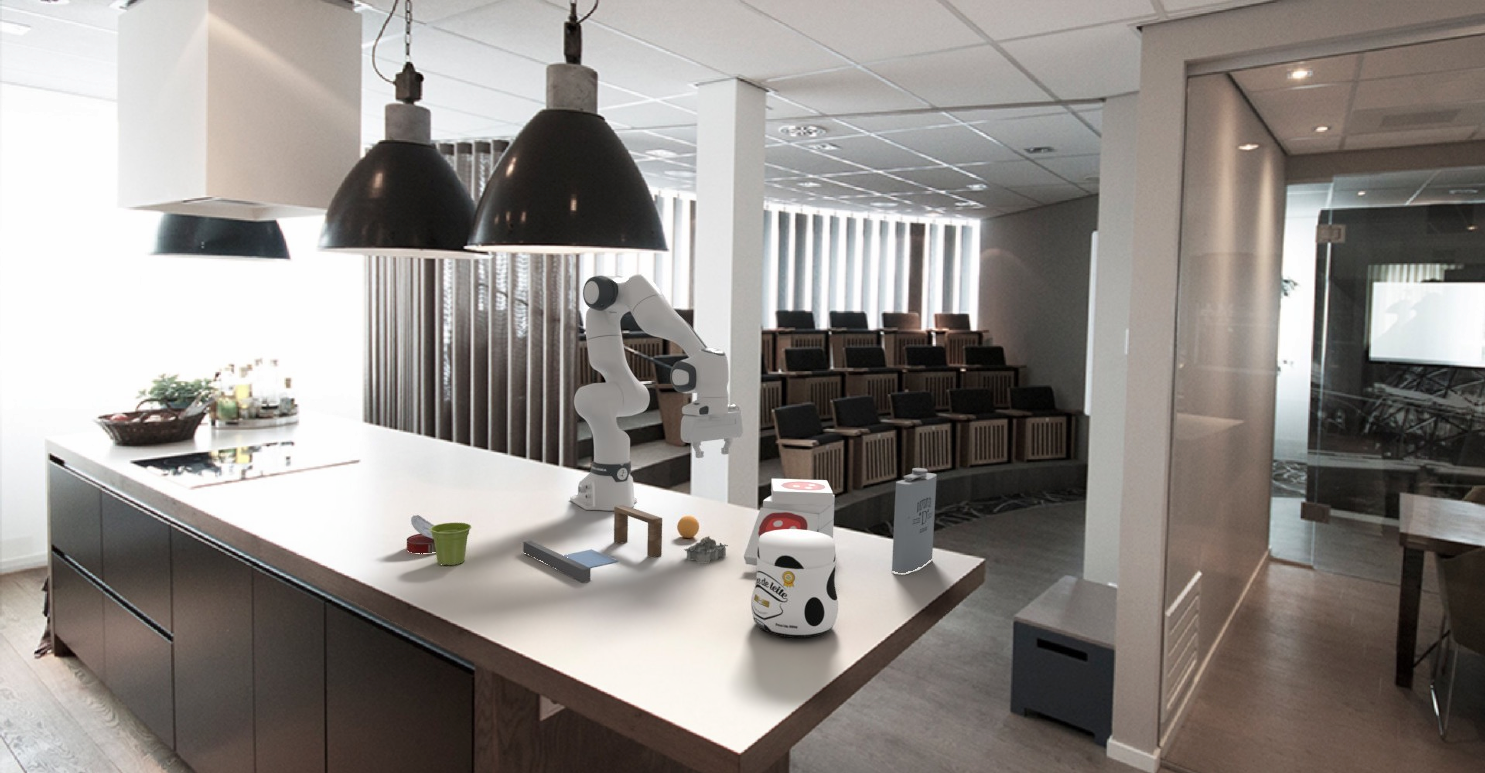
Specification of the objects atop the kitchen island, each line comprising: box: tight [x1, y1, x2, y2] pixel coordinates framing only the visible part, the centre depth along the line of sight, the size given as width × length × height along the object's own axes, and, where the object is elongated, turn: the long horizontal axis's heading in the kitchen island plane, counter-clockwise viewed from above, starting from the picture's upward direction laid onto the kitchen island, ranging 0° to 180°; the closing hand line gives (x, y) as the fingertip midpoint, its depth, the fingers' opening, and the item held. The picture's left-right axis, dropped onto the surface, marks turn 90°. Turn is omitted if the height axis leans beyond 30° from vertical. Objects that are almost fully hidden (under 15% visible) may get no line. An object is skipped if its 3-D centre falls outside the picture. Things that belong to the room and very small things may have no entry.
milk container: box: [750, 529, 839, 638], centre depth 162 cm, size 17×17×18 cm
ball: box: [676, 515, 700, 539], centre depth 223 cm, size 6×6×6 cm
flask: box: [891, 467, 938, 573], centre depth 203 cm, size 17×5×25 cm, turn 143°
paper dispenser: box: [743, 478, 836, 566], centre depth 206 cm, size 19×30×18 cm, turn 159°
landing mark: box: [563, 548, 619, 569], centre depth 201 cm, size 12×12×1 cm
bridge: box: [613, 505, 663, 558], centre depth 212 cm, size 3×17×10 cm, turn 43°
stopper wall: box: [522, 539, 592, 584], centre depth 196 cm, size 28×2×3 cm, turn 43°
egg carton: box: [683, 535, 729, 564], centre depth 207 cm, size 11×8×4 cm
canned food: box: [406, 514, 436, 554], centre depth 207 cm, size 11×10×10 cm
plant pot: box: [430, 522, 472, 566], centre depth 196 cm, size 9×9×9 cm
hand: (712, 455), depth 228 cm, fingers open, 8 cm apart
